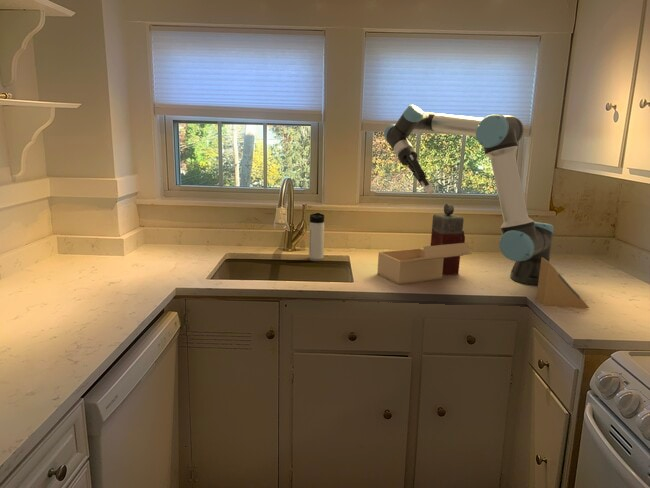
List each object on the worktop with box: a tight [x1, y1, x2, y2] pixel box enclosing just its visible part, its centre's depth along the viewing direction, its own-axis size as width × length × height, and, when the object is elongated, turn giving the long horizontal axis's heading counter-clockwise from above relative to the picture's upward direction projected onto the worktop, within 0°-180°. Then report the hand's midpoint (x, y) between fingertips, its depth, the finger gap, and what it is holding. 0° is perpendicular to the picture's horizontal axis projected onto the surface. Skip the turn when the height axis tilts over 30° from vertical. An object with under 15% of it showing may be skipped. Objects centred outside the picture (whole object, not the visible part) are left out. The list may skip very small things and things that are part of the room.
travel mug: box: [308, 212, 325, 262], centre depth 213 cm, size 6×7×20 cm
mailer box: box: [376, 247, 444, 286], centre depth 193 cm, size 15×20×9 cm
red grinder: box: [430, 203, 466, 276], centre depth 199 cm, size 9×11×28 cm
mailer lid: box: [400, 242, 472, 263], centre depth 179 cm, size 15×20×4 cm
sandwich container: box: [535, 257, 590, 309], centre depth 167 cm, size 9×15×15 cm, turn 83°
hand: (431, 192), depth 194 cm, fingers closed
